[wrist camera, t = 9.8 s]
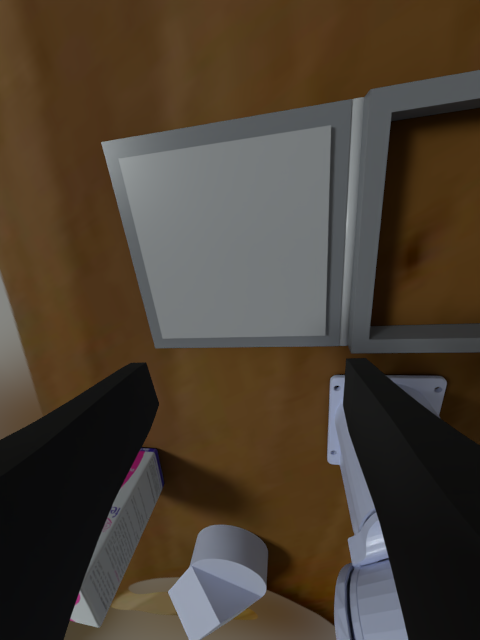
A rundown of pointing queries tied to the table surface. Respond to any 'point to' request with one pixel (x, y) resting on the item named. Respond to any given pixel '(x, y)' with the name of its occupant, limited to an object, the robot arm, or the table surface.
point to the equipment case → (275, 224)
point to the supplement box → (119, 538)
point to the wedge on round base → (220, 579)
